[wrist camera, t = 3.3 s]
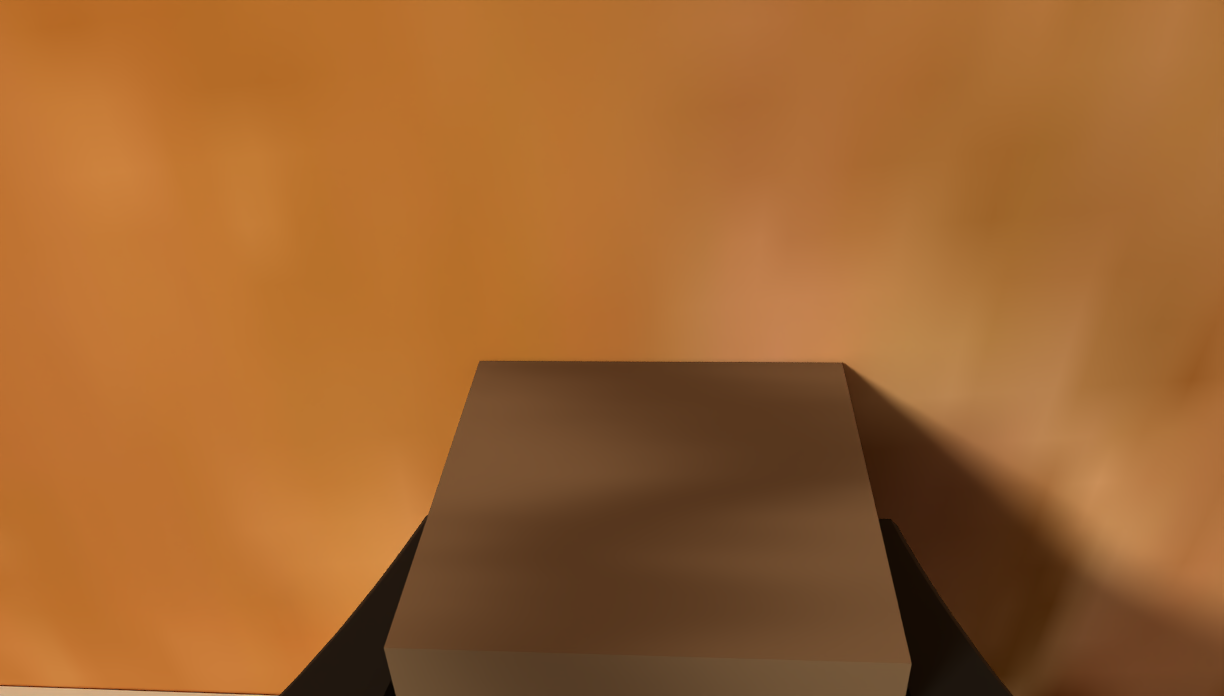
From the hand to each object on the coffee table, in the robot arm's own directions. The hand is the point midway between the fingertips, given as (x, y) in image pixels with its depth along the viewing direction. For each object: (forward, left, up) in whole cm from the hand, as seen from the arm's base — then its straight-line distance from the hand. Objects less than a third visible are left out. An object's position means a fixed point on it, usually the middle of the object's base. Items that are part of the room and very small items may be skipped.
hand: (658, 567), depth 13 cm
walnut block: (0, 0, -1) cm, 1 cm away
